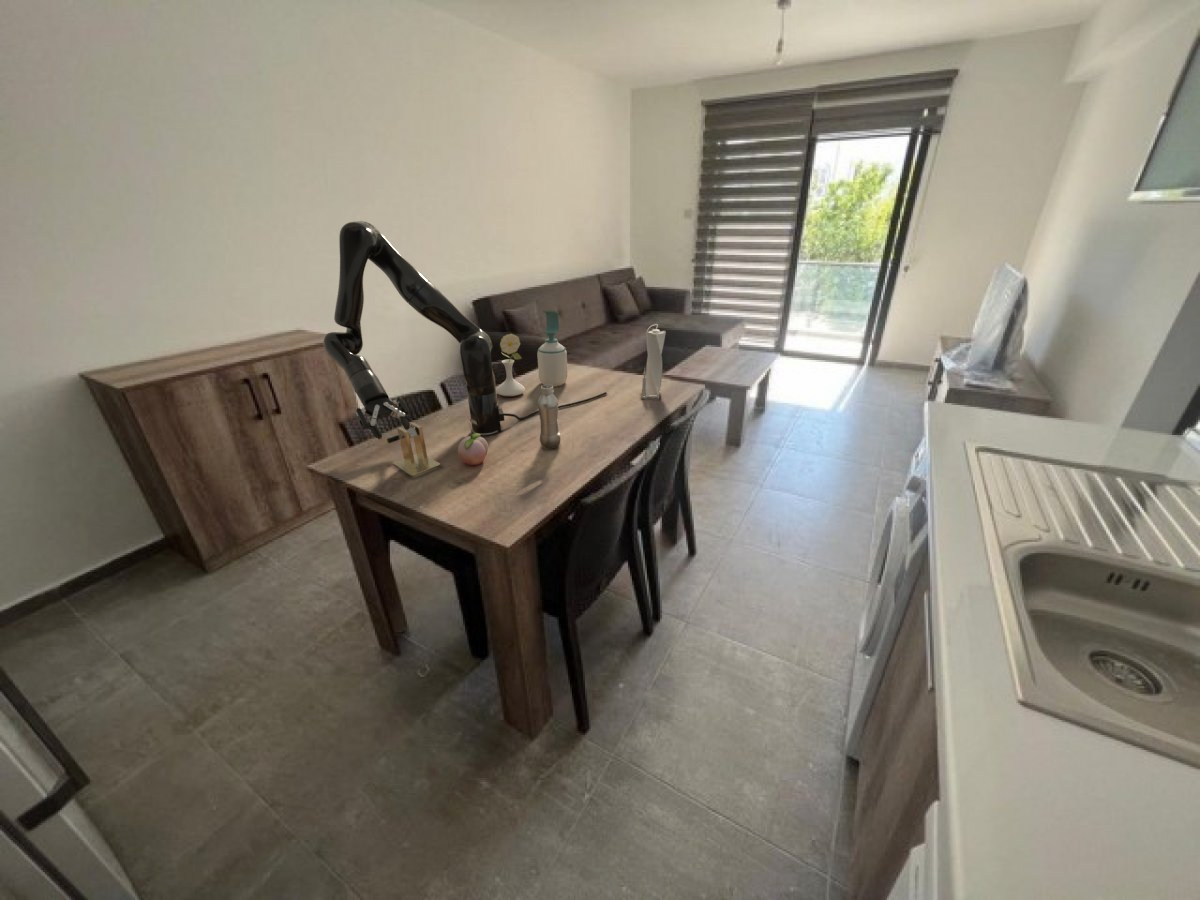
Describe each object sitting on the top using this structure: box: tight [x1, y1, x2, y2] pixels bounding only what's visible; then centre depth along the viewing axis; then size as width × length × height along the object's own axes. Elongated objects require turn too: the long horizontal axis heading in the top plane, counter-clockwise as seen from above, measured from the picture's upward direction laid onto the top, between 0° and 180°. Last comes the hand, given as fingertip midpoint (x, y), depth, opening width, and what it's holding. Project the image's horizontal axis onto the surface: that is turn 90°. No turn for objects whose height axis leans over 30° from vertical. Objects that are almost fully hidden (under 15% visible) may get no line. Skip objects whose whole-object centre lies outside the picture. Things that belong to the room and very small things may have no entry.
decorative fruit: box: [457, 433, 489, 466], centre depth 138 cm, size 9×8×10 cm
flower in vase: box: [496, 333, 526, 397], centre depth 189 cm, size 13×11×25 cm
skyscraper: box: [640, 323, 667, 401], centre depth 186 cm, size 8×8×28 cm
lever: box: [386, 427, 417, 444], centre depth 138 cm, size 12×6×2 cm, turn 48°
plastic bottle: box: [536, 384, 561, 450], centre depth 147 cm, size 6×7×20 cm
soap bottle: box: [536, 310, 568, 388], centre depth 200 cm, size 12×12×31 cm
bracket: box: [392, 422, 442, 477], centre depth 137 cm, size 11×9×13 cm
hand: (394, 433), depth 143 cm, fingers open, 8 cm apart
